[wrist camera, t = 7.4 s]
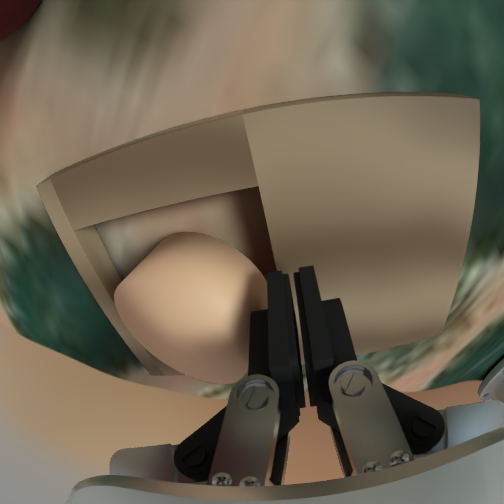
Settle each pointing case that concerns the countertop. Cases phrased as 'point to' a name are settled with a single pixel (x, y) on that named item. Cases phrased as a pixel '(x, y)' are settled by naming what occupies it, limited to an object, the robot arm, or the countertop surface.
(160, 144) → the tan piece
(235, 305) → the tan round bun
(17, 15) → the mug
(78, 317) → the countertop surface
